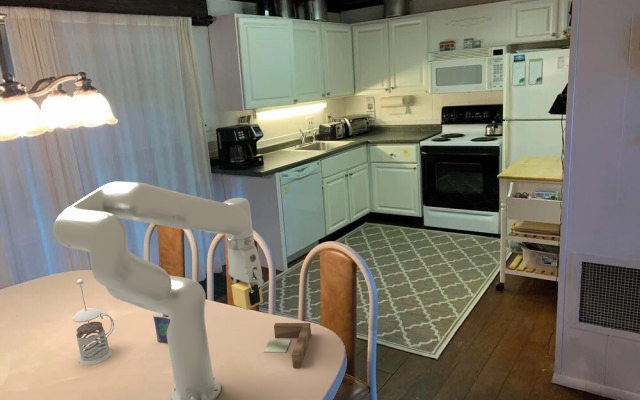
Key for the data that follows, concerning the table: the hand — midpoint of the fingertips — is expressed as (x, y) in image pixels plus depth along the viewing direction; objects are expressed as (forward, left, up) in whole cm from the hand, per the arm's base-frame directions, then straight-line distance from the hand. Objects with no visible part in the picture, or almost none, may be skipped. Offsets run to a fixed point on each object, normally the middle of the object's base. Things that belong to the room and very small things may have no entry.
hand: (248, 300), depth 142 cm
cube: (0, 0, -1) cm, 1 cm away
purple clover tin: (+17, +23, -16) cm, 33 cm away
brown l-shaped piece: (-6, -8, -16) cm, 18 cm away
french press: (+20, +44, -16) cm, 51 cm away
